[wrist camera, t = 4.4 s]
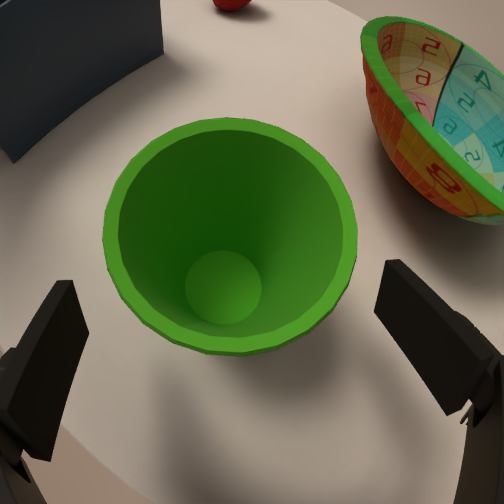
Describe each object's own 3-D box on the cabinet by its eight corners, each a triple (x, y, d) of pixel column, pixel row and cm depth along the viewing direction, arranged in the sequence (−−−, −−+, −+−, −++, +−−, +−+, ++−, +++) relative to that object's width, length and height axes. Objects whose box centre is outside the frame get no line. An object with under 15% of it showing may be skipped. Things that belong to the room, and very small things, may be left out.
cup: (308, 256, 22) (380, 171, 12) (259, 379, 19) (310, 399, 9) (192, 206, 23) (181, 91, 12) (132, 321, 19) (56, 277, 9)
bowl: (493, 310, 23) (575, 280, 13) (285, 190, 24) (323, 95, 15) (498, 151, 30) (543, 108, 21) (354, 58, 32) (382, -6, 22)
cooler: (93, 20, 31) (78, -63, 17) (164, 53, 28) (157, -63, 15) (-22, 101, 24) (-66, 23, 11) (14, 163, 22) (-60, 54, 9)
